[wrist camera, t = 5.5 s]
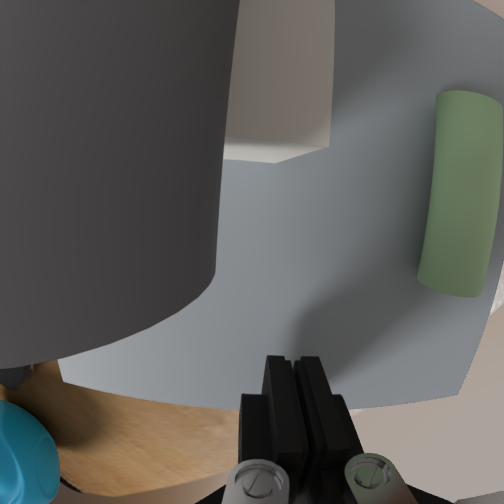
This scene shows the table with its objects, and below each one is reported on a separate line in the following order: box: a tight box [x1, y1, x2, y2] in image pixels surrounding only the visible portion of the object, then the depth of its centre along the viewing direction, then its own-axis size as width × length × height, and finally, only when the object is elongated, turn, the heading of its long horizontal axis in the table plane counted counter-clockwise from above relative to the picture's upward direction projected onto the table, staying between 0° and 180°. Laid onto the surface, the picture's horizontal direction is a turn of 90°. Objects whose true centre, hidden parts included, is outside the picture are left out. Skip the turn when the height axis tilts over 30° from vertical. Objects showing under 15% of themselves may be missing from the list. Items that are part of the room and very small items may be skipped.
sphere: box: [0, 400, 60, 504], centre depth 18 cm, size 12×11×12 cm
